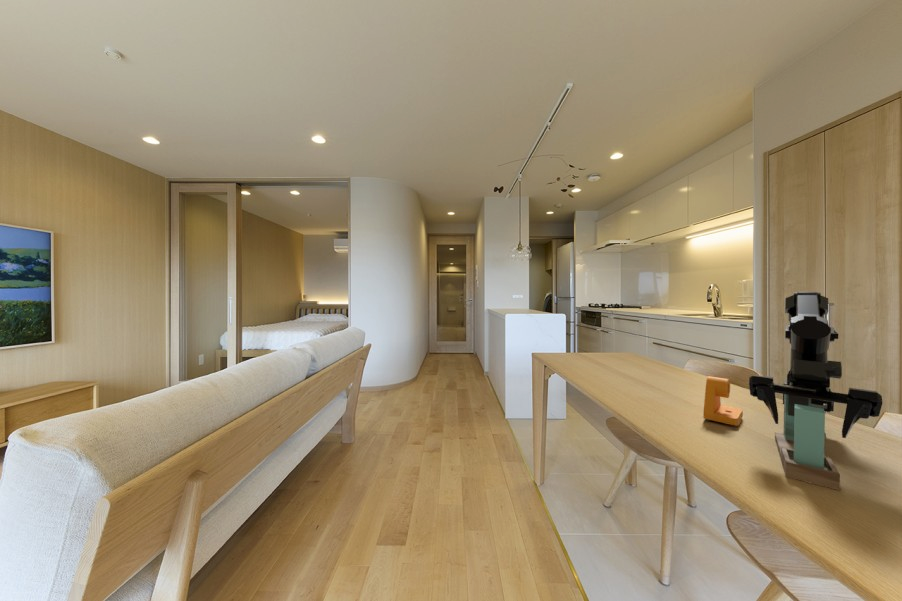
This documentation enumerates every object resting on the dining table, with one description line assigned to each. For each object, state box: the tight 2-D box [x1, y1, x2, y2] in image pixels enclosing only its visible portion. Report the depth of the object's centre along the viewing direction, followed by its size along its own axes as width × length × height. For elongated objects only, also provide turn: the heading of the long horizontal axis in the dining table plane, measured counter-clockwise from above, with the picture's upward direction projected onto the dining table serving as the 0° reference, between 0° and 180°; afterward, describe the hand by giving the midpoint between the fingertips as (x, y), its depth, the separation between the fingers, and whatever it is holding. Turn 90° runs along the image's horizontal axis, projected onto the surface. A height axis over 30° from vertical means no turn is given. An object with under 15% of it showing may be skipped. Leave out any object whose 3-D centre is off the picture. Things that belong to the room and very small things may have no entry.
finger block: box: [794, 404, 826, 469], centre depth 65 cm, size 4×4×12 cm
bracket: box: [702, 375, 744, 427], centre depth 93 cm, size 11×7×12 cm, turn 131°
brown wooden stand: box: [774, 394, 841, 491], centre depth 70 cm, size 22×7×14 cm, turn 139°
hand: (808, 429), depth 66 cm, fingers open, 9 cm apart
